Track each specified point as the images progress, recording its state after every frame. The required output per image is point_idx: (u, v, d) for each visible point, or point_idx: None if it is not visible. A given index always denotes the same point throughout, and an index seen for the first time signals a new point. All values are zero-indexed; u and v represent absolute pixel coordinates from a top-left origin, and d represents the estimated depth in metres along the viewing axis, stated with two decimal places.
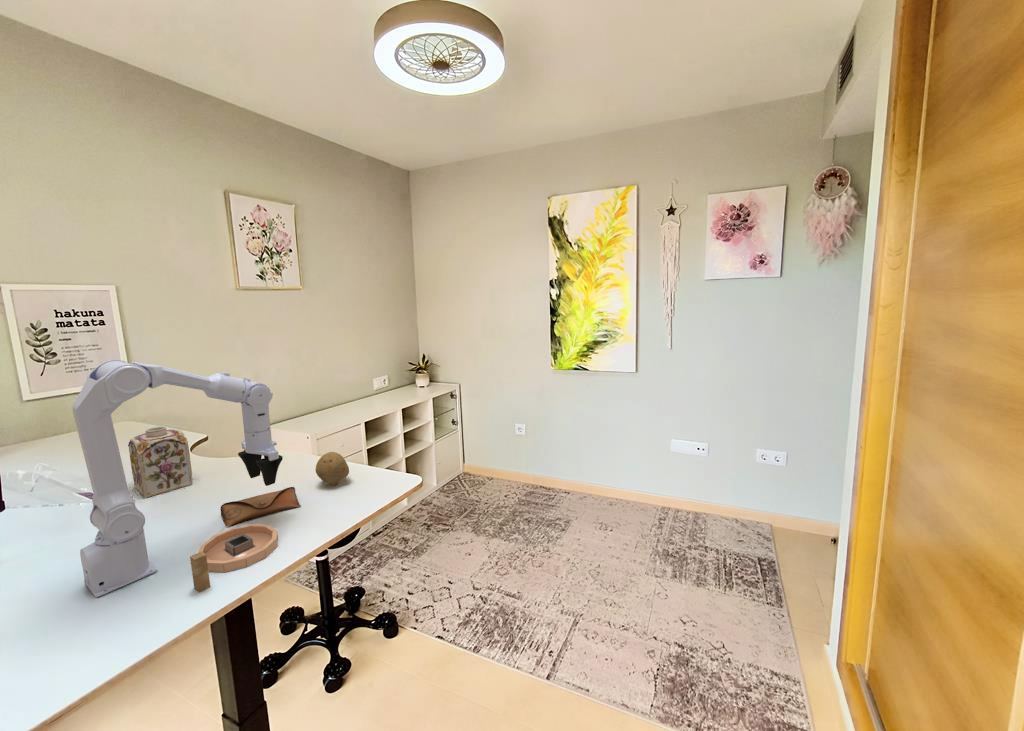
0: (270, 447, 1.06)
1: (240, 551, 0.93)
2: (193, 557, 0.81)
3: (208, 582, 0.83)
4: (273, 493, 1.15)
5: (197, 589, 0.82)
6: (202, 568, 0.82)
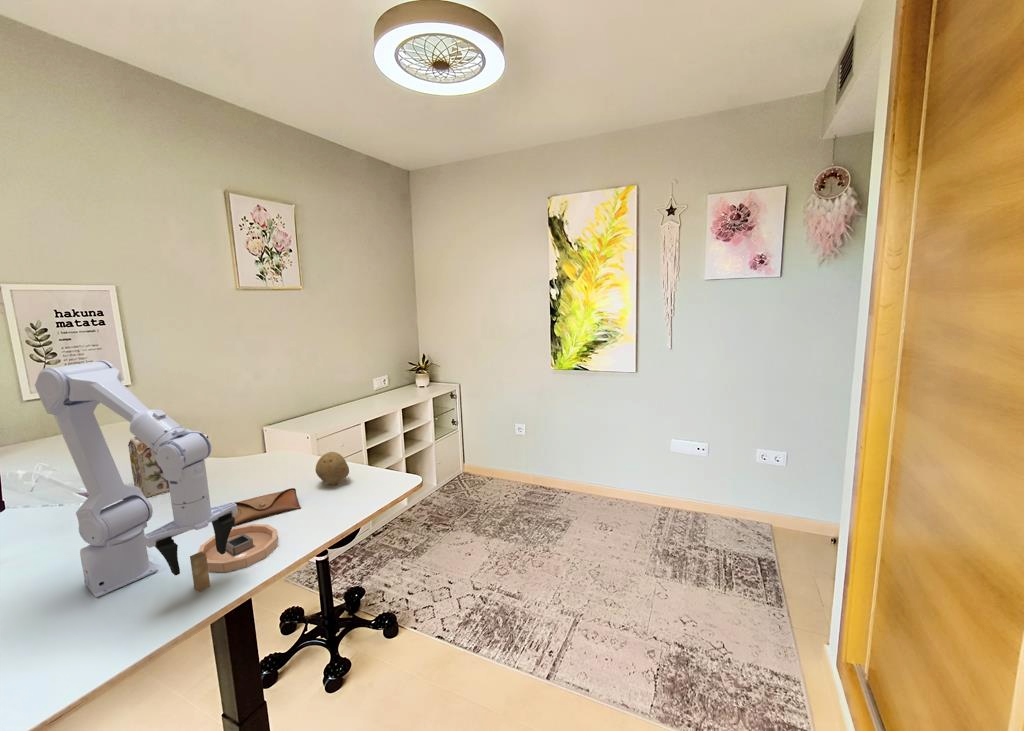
0: (179, 528, 0.78)
1: (240, 551, 0.93)
2: (193, 557, 0.81)
3: (208, 582, 0.83)
4: (273, 494, 1.14)
5: (197, 589, 0.82)
6: (202, 568, 0.82)
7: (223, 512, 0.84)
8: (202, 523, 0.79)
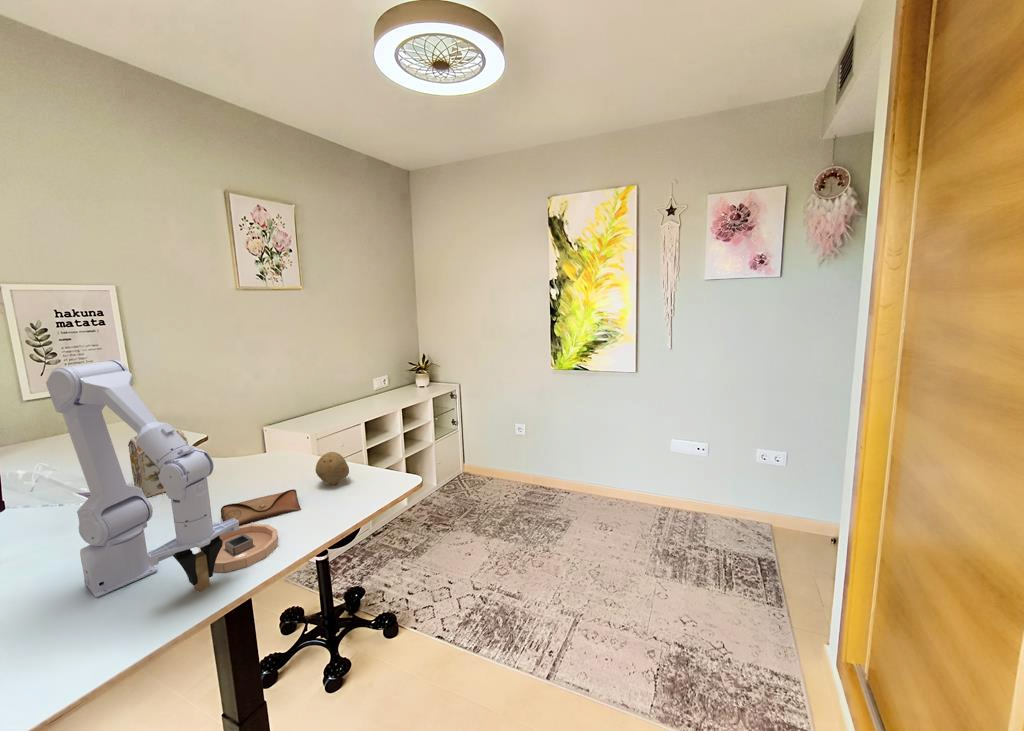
0: (181, 546, 0.78)
1: (240, 551, 0.93)
2: None
3: (208, 582, 0.83)
4: (274, 495, 1.13)
5: (197, 589, 0.82)
6: (202, 568, 0.82)
7: (225, 529, 0.84)
8: (204, 541, 0.80)
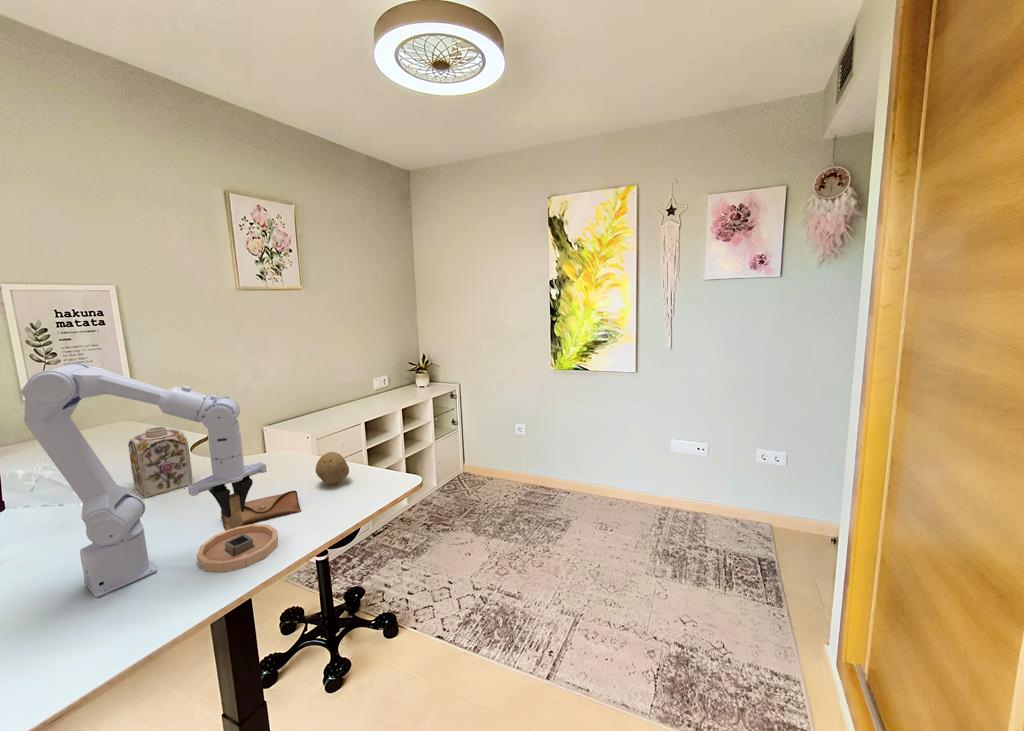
0: (217, 481, 0.88)
1: (240, 551, 0.93)
2: None
3: (241, 520, 0.93)
4: (274, 497, 1.13)
5: (231, 526, 0.92)
6: (236, 507, 0.92)
7: (254, 470, 0.94)
8: (237, 477, 0.90)
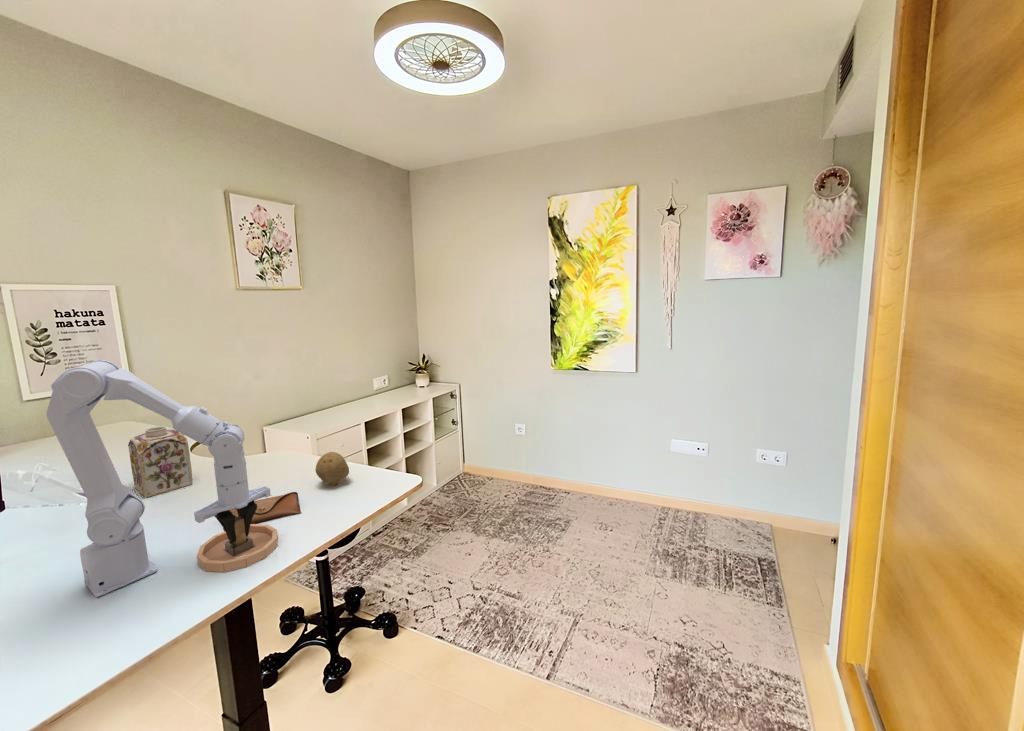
0: (223, 507, 0.90)
1: (240, 551, 0.93)
2: None
3: None
4: (274, 498, 1.12)
5: None
6: (240, 530, 0.94)
7: (259, 494, 0.96)
8: (242, 503, 0.92)
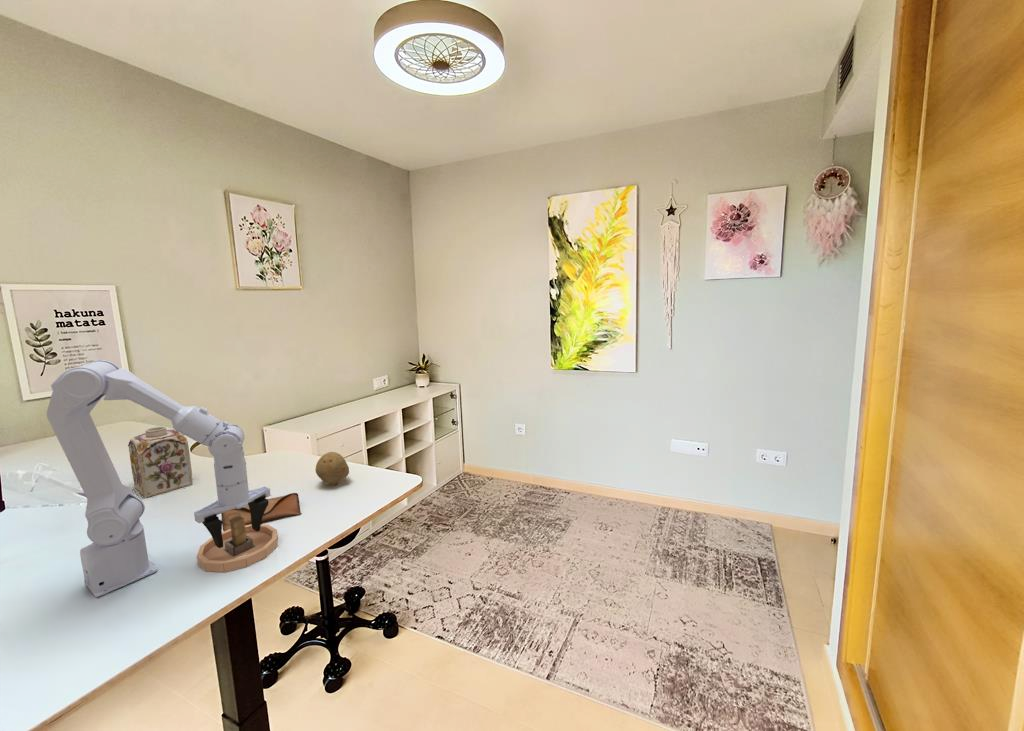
0: (223, 507, 0.90)
1: (240, 551, 0.93)
2: (233, 520, 0.93)
3: None
4: (274, 499, 1.12)
5: None
6: (240, 530, 0.94)
7: (259, 494, 0.96)
8: (242, 503, 0.92)
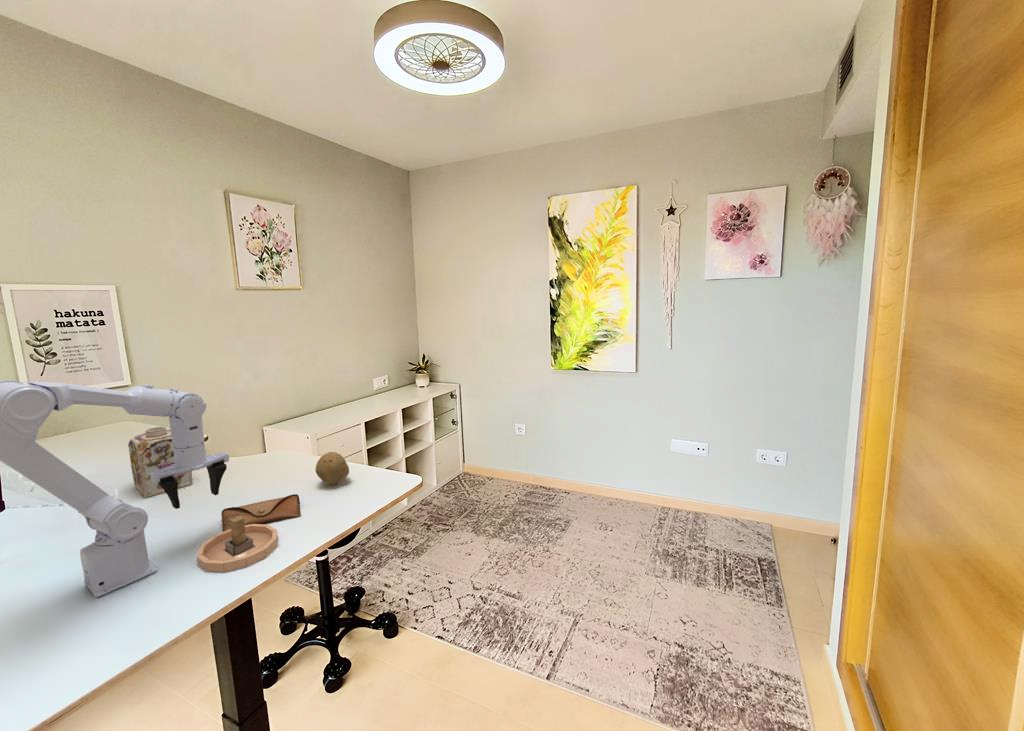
0: (179, 469, 0.93)
1: (240, 551, 0.93)
2: (233, 520, 0.93)
3: None
4: (274, 500, 1.11)
5: None
6: (240, 530, 0.94)
7: (216, 459, 0.99)
8: (198, 465, 0.94)
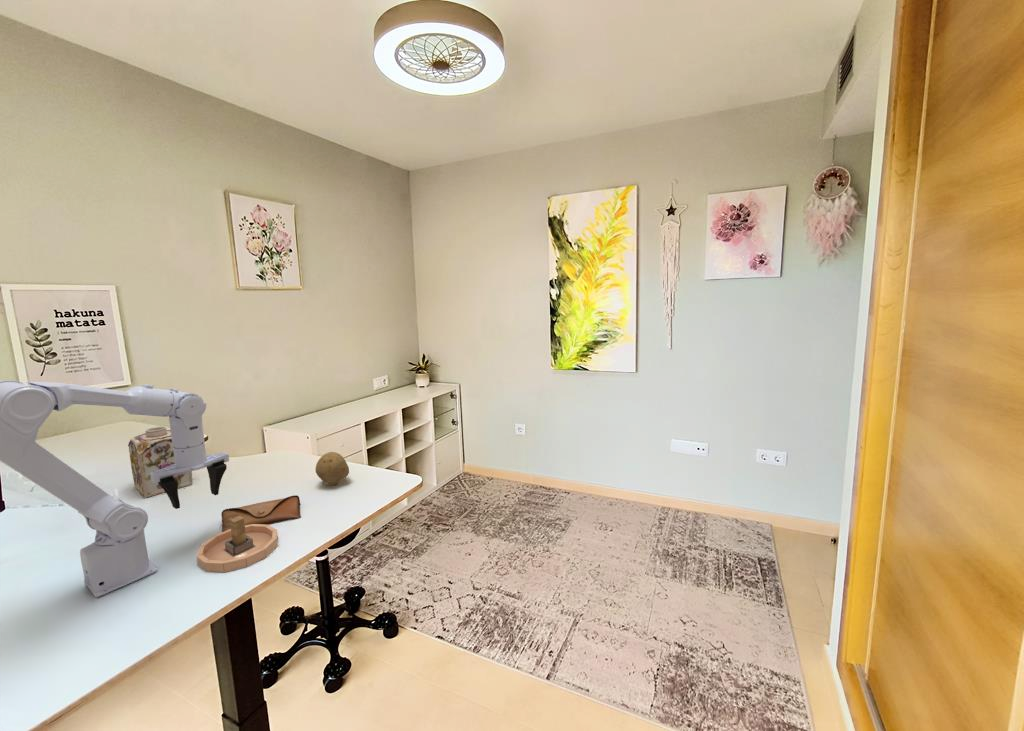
0: (179, 469, 0.93)
1: (240, 551, 0.93)
2: (233, 520, 0.93)
3: None
4: (274, 501, 1.10)
5: None
6: (240, 530, 0.94)
7: (216, 459, 0.99)
8: (198, 465, 0.94)
